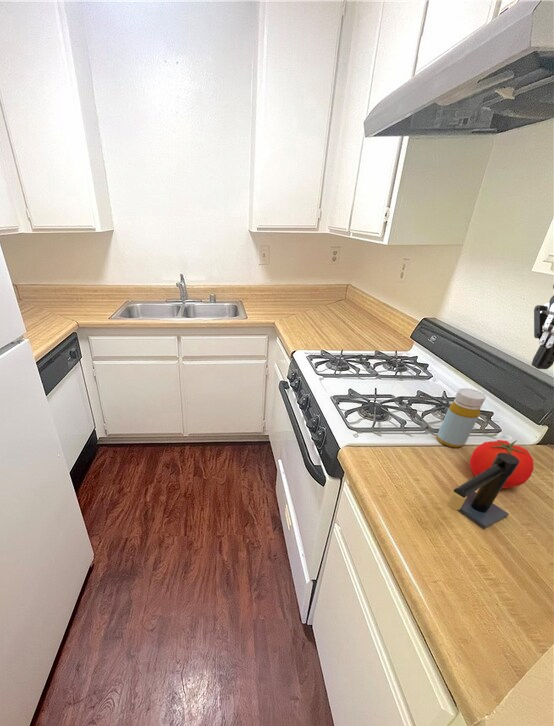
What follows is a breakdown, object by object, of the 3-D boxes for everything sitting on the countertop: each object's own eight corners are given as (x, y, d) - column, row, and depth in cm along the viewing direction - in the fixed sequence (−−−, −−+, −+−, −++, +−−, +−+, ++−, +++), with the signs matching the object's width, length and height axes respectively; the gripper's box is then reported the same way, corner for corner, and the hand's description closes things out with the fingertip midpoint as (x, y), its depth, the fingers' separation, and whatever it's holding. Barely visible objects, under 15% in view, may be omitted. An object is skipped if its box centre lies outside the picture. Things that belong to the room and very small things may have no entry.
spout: (491, 469, 72) (502, 450, 69) (510, 479, 69) (523, 460, 66) (440, 501, 63) (451, 481, 61) (460, 514, 61) (471, 493, 58)
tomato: (513, 472, 86) (534, 438, 80) (526, 502, 77) (551, 466, 71) (459, 460, 90) (475, 426, 84) (466, 487, 81) (485, 452, 75)
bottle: (456, 451, 93) (480, 402, 84) (431, 439, 97) (451, 391, 89) (468, 443, 96) (492, 395, 88) (443, 431, 101) (464, 385, 92)
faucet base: (470, 493, 79) (492, 455, 73) (507, 517, 73) (533, 477, 67) (448, 503, 76) (468, 464, 70) (483, 529, 70) (509, 489, 64)
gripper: (669, 267, 46) (590, 384, 56) (590, 255, 57) (535, 355, 67) (610, 265, 47) (543, 382, 56) (543, 253, 58) (496, 353, 67)
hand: (539, 367), depth 62 cm, fingers closed
